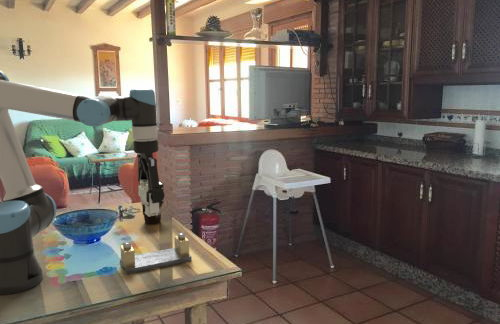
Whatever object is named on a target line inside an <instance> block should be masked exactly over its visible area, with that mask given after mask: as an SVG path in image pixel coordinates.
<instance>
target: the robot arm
mask: <svg viewBox="0 0 500 324" xmlns="http://www.w3.org/2000/svg"><path fill="white" fill-rule="evenodd" d="M9 110H12V111H16V112H18V111H19V112H24V113H28V114H33V115H38V116H39V115H40V116H45V117H51V118H56V119H62V120H67V121H73V122H76V123H77V122H78V123H82V124H83V125H84V126H88V127H101V126H103V125H104V124H108V123H112V122H125V121H126V122H129V121H131V129H132V130H131V133H132V139H133V142H132V145H133V153H135V154H137V181H138V183H139V184H138V185H140V179H147V180H148V185H149V190H150V191H148V193H149V203H150V213H151V214H152V213H158V212H159V203H158V200H157V199H158V197H157V192H159V191H160V184H159V182H160V178H159V172H158V171H159V170H158V165H157V162H158V160H157V158H155V157H154V156H153V155H154V153H157V152H158V151H159V149H160V148H159V140H158V137H159V136H158V132H159V130H160V129H159V127H158V120H157V116H158V115H157V103H156V93H155V91H154V89H151V88H142V89H141V88H140V89H137V88H135V89H130V91H129V95H125V96H122V95H121V96H120V95H119V96H117V95H115V96H112V95H111V96H109V95H108V96H106V95H105V96H104V95H99V96H91V95H85V94H80V93H79V94H78V93H74V92H68V91H63V90H57V89H53V88H48V87H47V88H46V87H43V86H42V87H41V86H36V85H30V84H25V83H21V82H15V81H10V79H9V77H8V76H7V75H6V73H4V72H3V71H2V70H0V180H1V184H2V185H3V188H4V190H5V195H4V197H3V202H1V203H0V296H1V295H2V296H3V295H11V294H17V293H21V292H24V291H26V290H29V289H31V288H34V287H36V286H37V285H39V284H41V282H42V281H43V279H44V278H43V277H44V275H43V270H42V267H41V265H40V263H39V261H38V259H37V257H36V255H35V253H34V251H35V250H34V239H33V238H34V237H35V236H36V235H38V234H39V233H41V232H42V231H44V230H45V229H47V228H48V227H49V226H51V224H52V223H53V221H54V220H55V218H56V215H57V205H56V202H55V200H54V199H53V198H52V196H50V195H49V194H47V193H46V192H45V189H44V188H43V186H42V185H40V184H37V183H36V181H35V179H34V176H33V173H32V171H31V170H32V169H31V168H30V165H29V163H28V161H27V157H26V154H25V151H24V150H23V147H22V145H21V142H20V139H19V136H18V134H17V132H16V129H15V125H14V124H13V121H12V119H11V116H10V113H9ZM154 187H155V188H154ZM151 193H152V200H151ZM140 204H141V206H142V205H144V204H147V203H146V202H144V201H143V200H142V199H141V198H140Z"/></svg>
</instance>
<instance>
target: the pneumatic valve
mask: <svg viewBox="0 0 500 324" xmlns="http://www.w3.org/2000/svg"><path fill="white" fill-rule="evenodd" d="M159 184H160V191H159V192H157V197H158V199H157V200H158V203H159V204H162V205H163V204H164V199H165V195H166V194H165V192H164V184H163V183H161V182H160V181H159ZM154 188H155V187H154ZM148 191H150V190H149V185H148V180H147V179H140V184H138V185H137V195H138V196H139V199H140V200H141V199H142V200H143V201H144V202H146V203H147V204H145V214H146V215H147V216H148V217H150V216H154V215H156V216H157V215H158V213H152V214H151V213H150V203H149V193H148ZM151 200H152V193H151Z"/></svg>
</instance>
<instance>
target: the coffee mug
mask: <svg viewBox="0 0 500 324" xmlns="http://www.w3.org/2000/svg"><path fill="white" fill-rule="evenodd" d="M141 206H142V208H141V209H142V216H143V219H144V224H145V225H148V226H150V225H151V226H153V225H154V226H155V225H158V224H161V221H162V210H163V209H162V207H163V204H159V212H158V215H157V216H156V215H154V216H150V217H148V216H147V215H146V214H145V204H144V205H141Z"/></svg>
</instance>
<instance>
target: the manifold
mask: <svg viewBox="0 0 500 324" xmlns="http://www.w3.org/2000/svg"><path fill="white" fill-rule="evenodd" d="M173 239H174V247H172V248H166V249H161V250H156V251H152V252H144V253H139V254H135V249H134V248H133V246H132V242H131V241H125V242H123V243H122V245H120V246H119V248H120V258H119V263H120V264H121V267H122V268H123V270H124V271H125V273H126V274H127V275H130V274H135V273H139V272H144V271H148V270H154V269H157V268H159V269H160V268H163V267H164V268H165V267H168V266H173V265H178V264H183V263H187V262H191V261H193V260H192V259H193V258H192V255H191V254H190V239H188V238H187V237H186V234H185V232H179V233H177V235H174V238H173Z"/></svg>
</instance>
